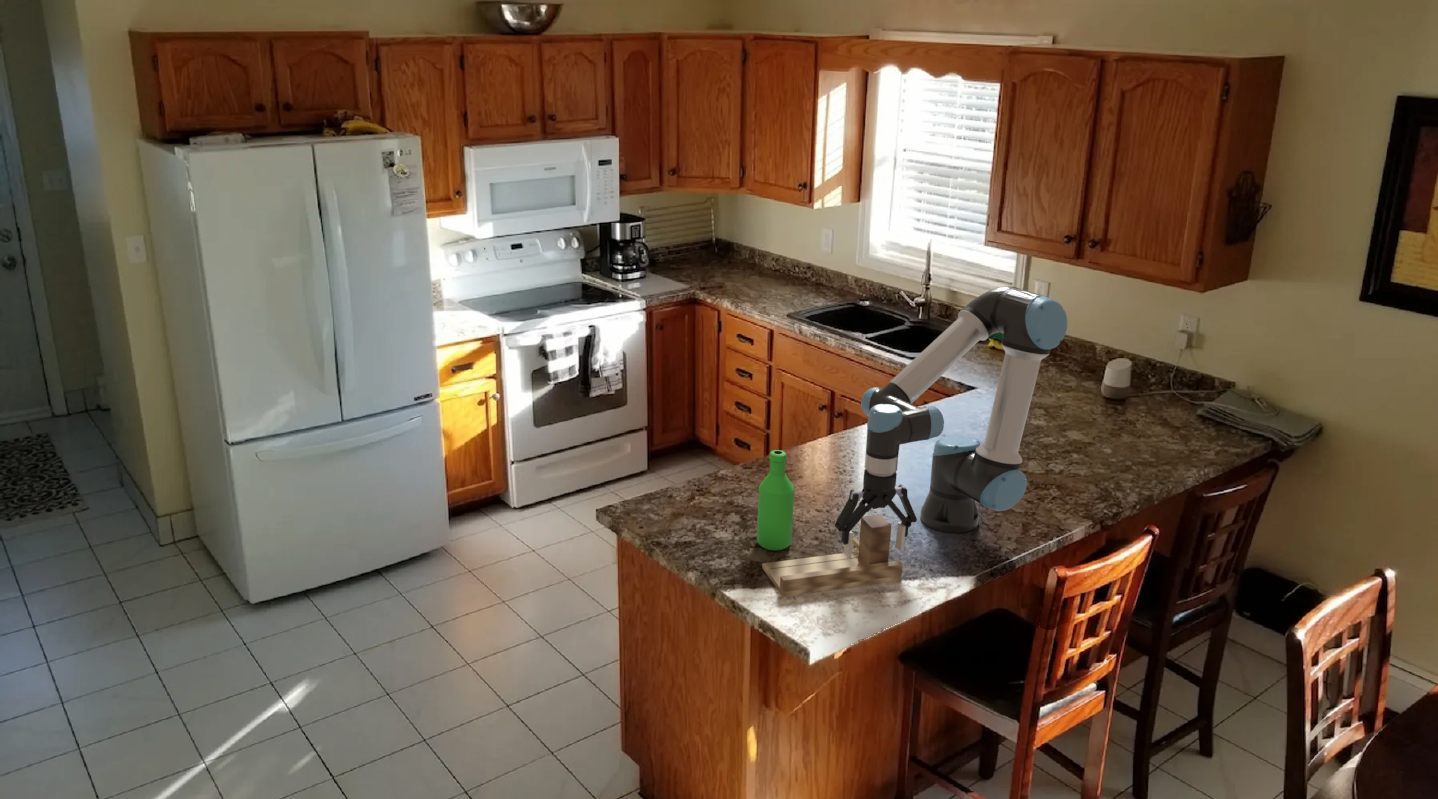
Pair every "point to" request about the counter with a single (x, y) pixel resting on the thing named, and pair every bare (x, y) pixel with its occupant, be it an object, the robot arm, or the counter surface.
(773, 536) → the bottle
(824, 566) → the board
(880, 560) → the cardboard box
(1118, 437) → the counter surface
